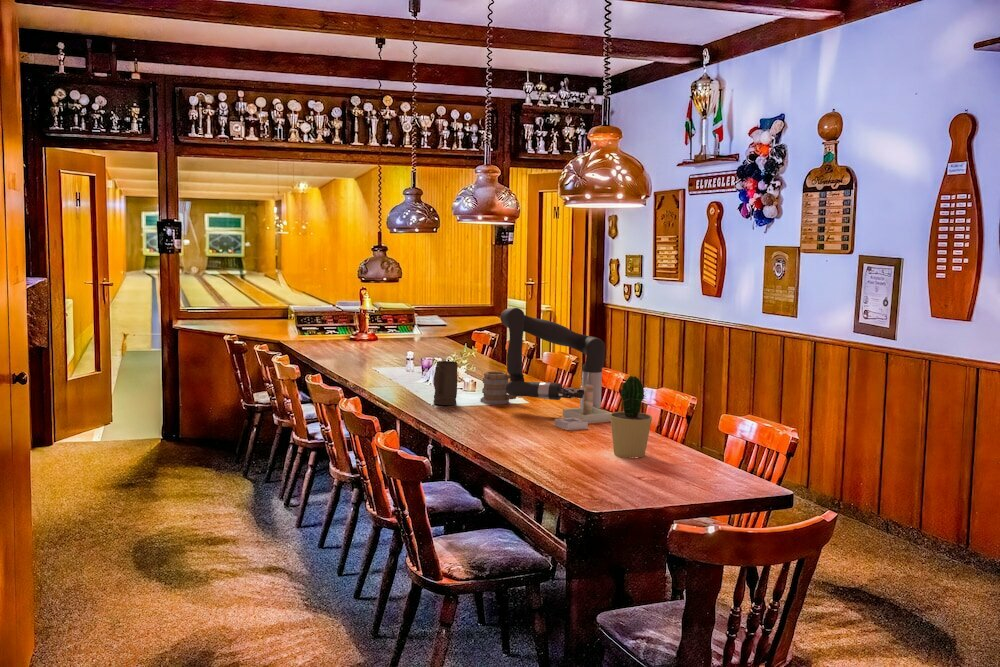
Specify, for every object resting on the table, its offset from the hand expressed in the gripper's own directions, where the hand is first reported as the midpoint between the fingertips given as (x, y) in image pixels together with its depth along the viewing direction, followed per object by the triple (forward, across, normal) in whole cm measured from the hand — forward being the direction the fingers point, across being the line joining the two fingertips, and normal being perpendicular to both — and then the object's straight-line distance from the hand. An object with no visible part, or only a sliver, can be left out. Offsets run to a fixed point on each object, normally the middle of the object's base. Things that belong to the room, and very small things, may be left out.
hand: (585, 394), depth 409 cm
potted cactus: (+33, -58, +11) cm, 67 cm away
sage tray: (+2, 0, +11) cm, 11 cm away
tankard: (-45, +19, +11) cm, 50 cm away
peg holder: (0, -21, +11) cm, 23 cm away
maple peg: (+2, 0, +10) cm, 10 cm away
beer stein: (-67, -1, +11) cm, 68 cm away
